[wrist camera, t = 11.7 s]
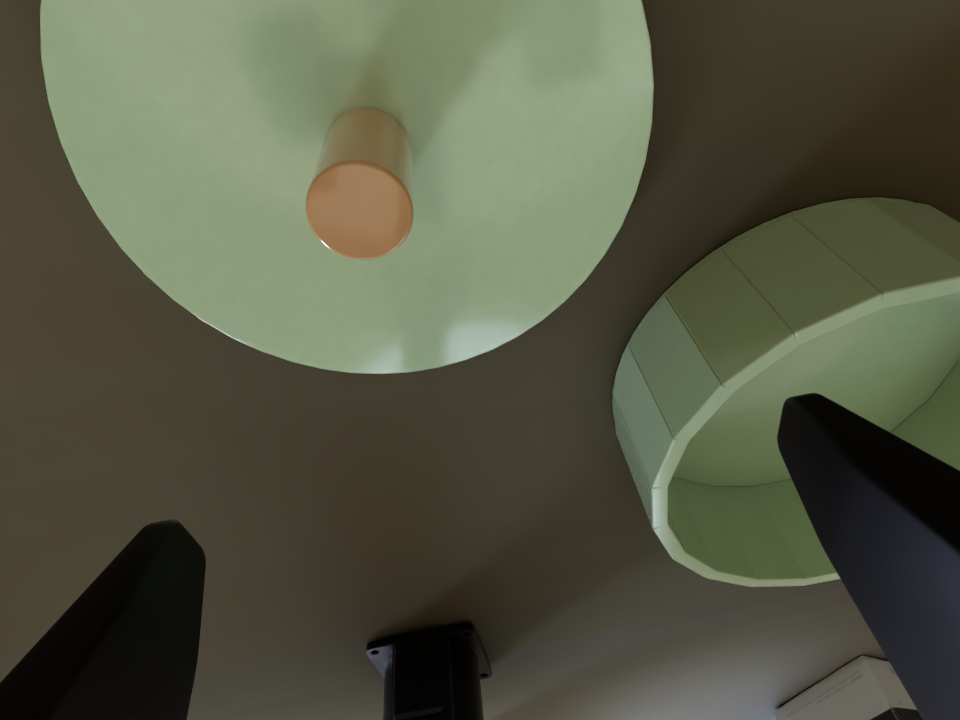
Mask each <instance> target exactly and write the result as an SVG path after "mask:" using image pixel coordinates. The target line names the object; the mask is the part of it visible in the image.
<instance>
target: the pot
mask: <svg viewBox="0 0 960 720" xmlns="http://www.w3.org/2000/svg"><path fill="white" fill-rule="evenodd" d="M808 393H817V394H820V395H823V396H825V397H826V398H828V399H830V400H832V401H834V402H836V403H837V404H839V405H841V406H843V407H845V408H846V409H848V410H850V411H852V412H854V413H856V414H857V415H859V416H861V417H863V418H865V419H867V420H868V421H870V422H872V423H874V424H876V425H877V426H879V427H881V428H883V429H885V430H887V431H888V432H890V433H892V434H894V435H896V436H898V437H899V438H901V439H903V440H905V441H907V442H908V443H910V444H912V445H914V446H916V447H918V448H919V449H921V450H923V451H925V452H927V453H929V454H930V455H932V456H934V457H936V458H938V459H939V460H941V461H943V462H945V463H947V464H949V465H950V466H952V467H954V468H956V469H958V470H960V221H958V220H956V219H954V218H953V217H951V216H949V215H947V214H945V213H943V212H942V211H940V210H938V209H936V208H934V207H932V206H931V205H927V204H922V203H916V202H912V201H909V200H903V199H893V198H883V197H873V198H851V199H845V200H839V201H833V202H826V203H821V204H818V205H814V206H810V207H807V208H803V209H800V210H796V211H793V212H790V213H788V214H785V215H782V216H780V217H777V218H775V219H772V220H770V221H767V222H765V223H762V224H760V225H758V226H756V227H755V228H753V229H751V230H749V231H747V232H745V233H743V234H741V235H739V236H737V237H735V238H733V239H732V240H730V241H729V242H727V243H726V244H724V245H722V246H721V247H719V248H718V249H716V250H715V251H713V252H711V253H710V254H708V255H707V256H706V257H705V258H703V259H702V260H701V261H699V262H698V263H697V264H696V265H694V266H693V267H692V268H690V269H689V270H688V271H687V272H685V273H684V274H683V275H682V276H681V277H680V278H679V279H678V280H677V281H676V282H675V283H674V284H673V285H672V286H671V287H670V288H668V289H667V290H666V291H665V292H664V293H663V295H662V296H661V297H660V298H659V299H658V301H657V302H656V303H655V304H654V305H653V306H652V308H651V309H650V310H649V311H648V312H647V314H646V315H645V317H644V318H643V320H642V321H641V322H640V324H639V325H638V327H637V328H636V330H635V331H634V333H633V335H632V337H631V339H630V341H629V343H628V345H627V346H626V348H625V350H624V352H623V355H622V358H621V361H620V363H619V366H618V369H617V372H616V377H615V382H614V388H613V408H612V409H613V415H614V421H615V429H616V435H617V437H618V440H619V442H620V445H621V448H622V450H623V453H624V456H625V458H626V461H627V463H628V466H629V469H630V471H631V474H632V476H633V479H634V482H635V484H636V487H637V490H638V492H639V495H640V497H641V500H642V503H643V505H644V508H645V510H646V513H647V516H648V518H649V521H650V524H651V526H652V529H653V530H654V532H655V533H656V535H657V536H658V538H659V540H660V541H661V543H662V544H663V546H664V547H665V549H666V550H667V552H668V553H669V555H670V556H671V558H672V559H673V560H675V561H677V562H678V563H680V564H682V565H684V566H685V567H687V568H689V569H691V570H692V571H694V572H696V573H698V574H699V575H701V576H703V577H705V578H708V579H712V580H717V581H722V582H727V583H732V584H737V585H742V586H748V587H776V586H802V585H803V586H805V585H810V584H815V583H821V582H826V581H831V580H836V579H840V577H839V575H838V574H837V572H836V570H835V569H834V567H833V565H832V563H831V562H830V560H829V558H828V556H827V554H826V553H825V551H824V549H823V547H822V545H821V543H820V541H819V539H818V537H817V535H816V532H815V530H814V528H813V526H812V524H811V521H810V519H809V517H808V515H807V512H806V510H805V508H804V506H803V503H802V501H801V499H800V497H799V494H798V492H797V490H796V488H795V485H794V483H793V481H792V479H791V476H790V474H789V472H788V470H787V467H786V465H785V463H784V461H783V458H782V456H781V454H780V451H779V448H778V443H777V434H778V429H779V424H780V419H781V413H782V408H783V404H784V402H785V401H786V399H787V398H790V397H793V396H798V395H803V394H808Z"/></svg>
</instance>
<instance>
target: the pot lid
mask: <svg viewBox="0 0 960 720" xmlns="http://www.w3.org/2000/svg"><path fill="white" fill-rule="evenodd" d="M40 32H41V59H42V66H43V72H44V78H45V84H46V91H47V97H48V102H49V105H50V109H51V112H52V116H53V119H54V122H55V126H56V129H57V132H58V136H59V139H60V143H61V145H62V147H63V149H64V152H65V154H66V156H67V159H68V161H69V163H70V166H71V168H72V170H73V173H74V175H75V177H76V179H77V182H78V183H79V185H80V187H81V188H82V190H83V192H84V194H85V195H86V197H87V199H88V201H89V202H90V204H91V206H92V208H93V209H94V211H95V213H96V214H97V216H98V218H99V219H100V220H101V222H102V223H103V224H104V226H105V227H106V228H107V230H108V231H109V232H110V234H111V235H112V237H113V238H114V239H115V241H116V242H117V243H118V245H119V246H120V247H121V249H122V250H123V251H124V252H125V253H126V254H127V255H128V256H129V257H130V258H131V260H132V261H133V262H134V263H135V264H136V265H137V266H138V267H139V268H140V269H141V270H142V272H143V273H144V274H145V275H146V276H147V277H148V278H149V279H151V280H152V281H153V282H154V283H155V284H156V285H157V286H158V287H160V288H161V289H162V290H163V291H164V292H165V293H166V294H167V295H169V296H170V297H171V298H172V299H173V300H174V301H176V302H177V303H178V304H180V305H181V306H183V307H184V308H185V309H187V310H188V311H190V312H191V313H192V314H194V315H195V316H196V317H198V318H199V319H201V320H202V321H204V322H205V323H207V324H209V325H211V326H212V327H214V328H216V329H217V330H219V331H221V332H223V333H224V334H226V335H228V336H229V337H231V338H233V339H236V340H238V341H240V342H242V343H244V344H246V345H249V346H251V347H253V348H255V349H257V350H259V351H262V352H265V353H268V354H271V355H274V356H276V357H279V358H282V359H285V360H288V361H291V362H295V363H299V364H303V365H308V366H312V367H316V368H320V369H327V370H334V371H341V372H348V373H368V374H388V373H405V372H414V371H420V370H426V369H432V368H438V367H442V366H445V365H449V364H453V363H457V362H460V361H464V360H467V359H470V358H472V357H475V356H477V355H480V354H482V353H485V352H488V351H490V350H493V349H495V348H497V347H499V346H500V345H502V344H504V343H506V342H508V341H510V340H512V339H514V338H516V337H518V336H519V335H521V334H522V333H524V332H525V331H527V330H528V329H530V328H531V327H533V326H535V325H536V324H538V323H539V322H541V321H542V320H543V319H545V318H546V317H547V316H548V315H549V314H550V313H552V312H553V311H554V310H555V309H556V308H558V307H559V306H560V305H561V304H562V303H564V302H565V301H566V300H567V299H568V298H569V297H570V296H571V295H572V294H573V293H574V291H575V290H576V289H577V288H578V287H579V286H580V285H581V284H582V283H583V282H584V281H585V280H586V279H587V278H588V276H589V275H590V274H591V272H592V271H593V270H594V268H595V267H596V266H597V264H598V263H599V262H600V260H601V259H602V258H603V256H604V255H605V254H606V252H607V250H608V248H609V247H610V245H611V243H612V242H613V240H614V238H615V237H616V235H617V233H618V231H619V230H620V228H621V226H622V224H623V222H624V220H625V217H626V215H627V213H628V210H629V208H630V206H631V204H632V201H633V199H634V197H635V194H636V191H637V188H638V184H639V181H640V178H641V174H642V171H643V168H644V164H645V161H646V156H647V150H648V144H649V138H650V133H651V127H652V114H653V94H654V78H653V65H652V52H651V42H650V37H649V32H648V27H647V22H646V17H645V12H644V7H643V2H642V0H41V6H40Z"/></svg>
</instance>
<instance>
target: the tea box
mask: <svg viewBox="0 0 960 720" xmlns="http://www.w3.org/2000/svg"><path fill="white" fill-rule="evenodd" d="M775 716H776V718H777V720H923V719H922V717H921V715H920V714H919V712H918V710H917V708H916V707H915V705H914V703H913V702H912V700H911V698H910V696H909V695H908V693H907V691H906V690H905V688H904V686H903V685H902V683H901V681H900V679H899V678H898V676H897V674H896V673H895V671H894V669H893V667H892V666H891V664H890V662H888V661H884V660H879V659H875V658H871V657H866V656H860V657H858V658H857V659H855V660H853V661H852V662H850V663H848V664H847V665H845V666H844V667H842V668H840V669H839V670H837V671H836V672H834V673H833V674H831V675H830V676H828V677H827V678H825V679H824V680H822V681H821V682H819V683H817V684H816V685H814V686H813V687H811V688H809V689H808V690H806V691H805V692H803V693H801V694H800V695H798V696H797V697H795V698H794V699H792V700H791V701H789V702H788V703H786V704H785V705H783V706H782V707H780V708H779V709H778V710H777V711H776V712H775Z"/></svg>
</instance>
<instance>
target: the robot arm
mask: <svg viewBox="0 0 960 720" xmlns="http://www.w3.org/2000/svg"><path fill="white" fill-rule="evenodd" d="M777 443H778V448H779V451H780V454H781V456H782V458H783V461H784V463H785V465H786V467H787V470H788V472H789V474H790V476H791V479H792V481H793V483H794V485H795V488H796V490H797V492H798V494H799V497H800V499H801V501H802V503H803V506H804V508H805V510H806V512H807V515H808V517H809V519H810V521H811V524H812V526H813V528H814V530H815V532H816V535H817V537H818V539H819V541H820V543H821V545H822V547H823V549H824V551H825V553H826V554H827V556H828V558H829V560H830V562H831V563H832V565H833V567H834V569H835V570H836V572H837V574H838V575H839V577H840V579H841V580H842V582H843V584H844V586H845V587H846V589H847V591H848V592H849V594H850V596H851V598H852V599H853V601H854V603H855V604H856V606H857V608H858V609H859V611H860V613H861V615H862V616H863V618H864V620H865V621H866V623H867V625H868V627H869V628H870V630H871V632H872V633H873V635H874V637H875V638H876V640H877V642H878V644H879V645H880V647H881V649H882V650H883V652H884V654H885V656H886V657H887V659H888V661H889V662H890V664H891V666H892V667H893V669H894V671H895V673H896V674H897V676H898V678H899V679H900V681H901V683H902V685H903V686H904V688H905V690H906V691H907V693H908V695H909V696H910V698H911V700H912V702H913V703H914V705H915V707H916V708H917V710H918V712H919V714H920V715H921V717H922V719H923V720H960V470H958V469H956V468H954V467H952V466H950V465H949V464H947V463H945V462H943V461H941V460H939V459H938V458H936V457H934V456H932V455H930V454H929V453H927V452H925V451H923V450H921V449H919V448H918V447H916V446H914V445H912V444H910V443H908V442H907V441H905V440H903V439H901V438H899V437H898V436H896V435H894V434H892V433H890V432H888V431H887V430H885V429H883V428H881V427H879V426H877V425H876V424H874V423H872V422H870V421H868V420H867V419H865V418H863V417H861V416H859V415H857V414H856V413H854V412H852V411H850V410H848V409H846V408H845V407H843V406H841V405H839V404H837V403H836V402H834V401H832V400H830V399H828V398H826V397H825V396H823V395H820V394H817V393H808V394H803V395H798V396H793V397H790V398H787V399H786V401H785V402H784V404H783V408H782V413H781V419H780V424H779V429H778V434H777ZM205 568H206V560H205V554H204V552H203V549H202V548H201V546H200V545H199V544H198V543H197V542H196V540H195V539H194V538H193V537H192V536H191V535H190V533H189V532H188V531H187V530H186V529H185V528H184V526H183V525H182V524H181V523H180V522H178V521H176V520H166V521H161V522H156V523H151V524H149V525H147V526H145V527H144V528H143V529H142V530H141V531H140V532H139V533H138V534H137V535H136V536H135V537H134V538H133V539H132V540H131V541H130V542H129V544H128V545H127V546H126V547H125V548H124V549H123V550H122V551H121V552H120V553H119V554H118V555H117V557H116V558H115V559H114V560H113V561H112V562H111V563H110V564H109V565H108V566H107V567H106V569H105V570H104V571H103V572H102V573H101V574H100V575H99V576H98V577H97V578H96V579H95V580H94V582H93V583H92V584H91V585H90V586H89V587H88V588H87V589H86V590H85V591H84V592H83V594H82V595H81V596H80V597H79V598H78V599H77V600H76V601H75V602H74V603H73V604H72V605H71V607H70V608H69V609H68V610H67V611H66V612H65V613H64V614H63V615H62V616H61V617H60V618H59V620H58V621H57V622H56V623H55V624H54V625H53V626H52V627H51V628H50V629H49V630H48V632H47V633H46V634H45V635H44V636H43V637H42V638H41V639H40V640H39V641H38V642H37V643H36V645H35V646H34V647H33V648H32V649H31V650H30V651H29V652H28V653H27V654H26V655H25V657H24V658H23V659H22V660H21V661H20V662H19V663H18V664H17V665H16V666H15V667H14V668H13V670H12V671H11V672H10V673H9V674H8V675H7V676H6V677H5V678H4V679H3V680H2V682H1V683H0V720H186V719H187V714H188V709H189V704H190V698H191V693H192V688H193V683H194V677H195V671H196V665H197V658H198V649H199V638H200V627H201V615H202V603H203V591H204V580H205ZM366 654H367V655H368V657H369V658H370V660H371V661H372V662H373V664H374V665H375V667H376V668H377V670H378V671H379V672H380V674H381V675H382V677H383V678H384V713H383V720H484V719H483V708H482V697H481V686H480V679H485V678H488V677H490V676H491V675H492V671H491V666H490V663H489V661H488V659H487V656H486V654H485V652H484V649H483V647H482V644H481V642H480V640H479V637H478V635H477V633H476V630H475V628H474V626H473V625H471V624H461V625H456V626H451V627H446V628H441V629H435V630H430V631H425V632H420V633H415V634H410V635H404V636H399V637H394V638H389V639H384V640H379V641H374V642H370V643H368V644H367V647H366Z"/></svg>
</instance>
